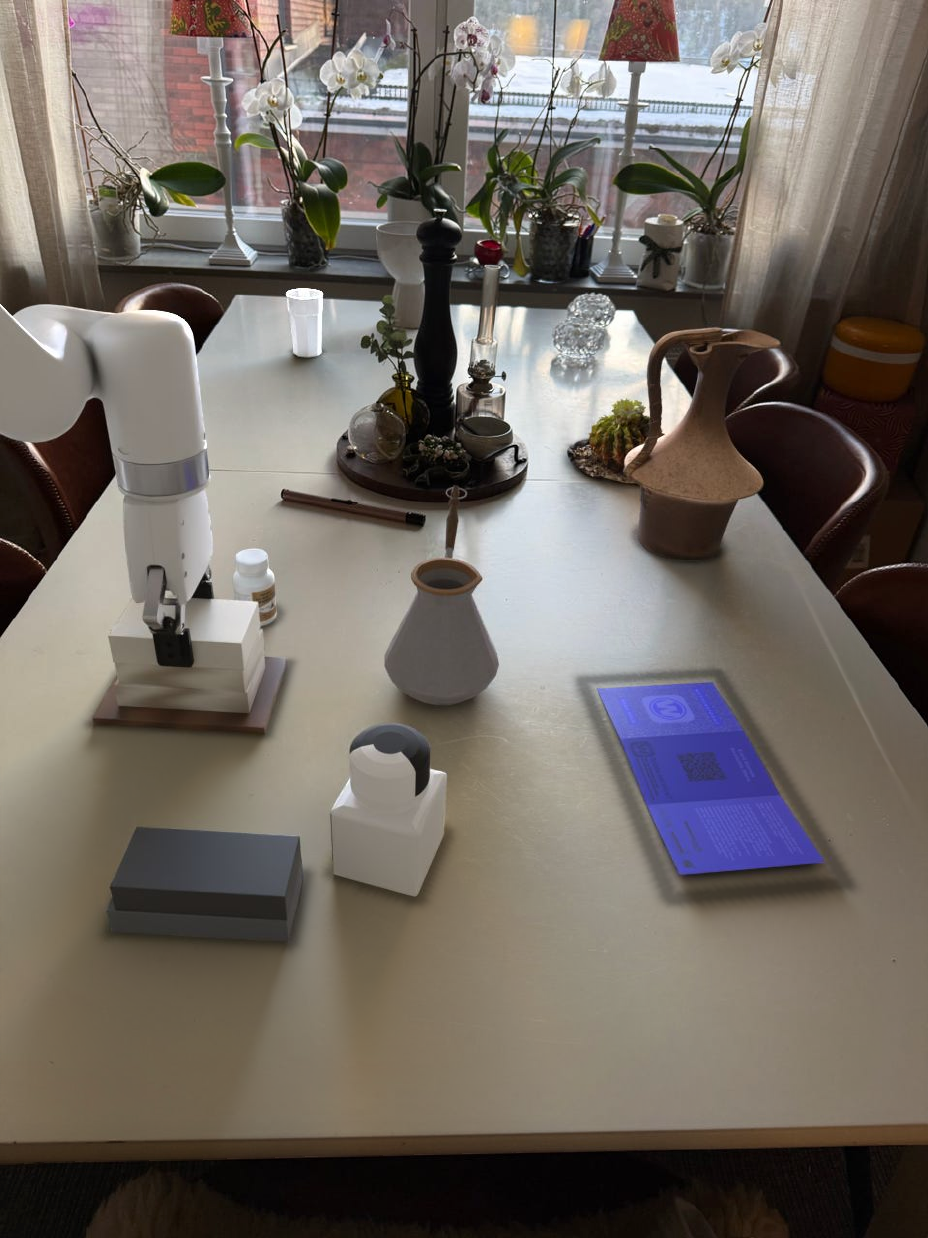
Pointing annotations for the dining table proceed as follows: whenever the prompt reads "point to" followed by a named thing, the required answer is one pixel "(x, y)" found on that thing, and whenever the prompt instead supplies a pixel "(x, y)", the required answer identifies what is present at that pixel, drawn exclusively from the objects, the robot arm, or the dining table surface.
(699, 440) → the pitcher
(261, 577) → the pill bottle
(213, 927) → the grey books
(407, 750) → the blocky figurine
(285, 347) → the dining table surface
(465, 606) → the coffee pot
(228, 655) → the white book
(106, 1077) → the dining table surface
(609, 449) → the cactus
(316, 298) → the cup
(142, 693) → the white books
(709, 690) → the booklet
